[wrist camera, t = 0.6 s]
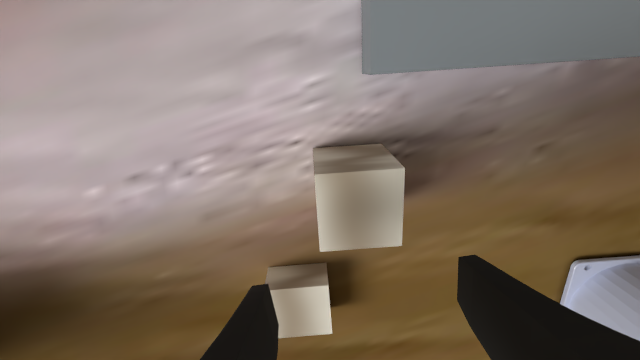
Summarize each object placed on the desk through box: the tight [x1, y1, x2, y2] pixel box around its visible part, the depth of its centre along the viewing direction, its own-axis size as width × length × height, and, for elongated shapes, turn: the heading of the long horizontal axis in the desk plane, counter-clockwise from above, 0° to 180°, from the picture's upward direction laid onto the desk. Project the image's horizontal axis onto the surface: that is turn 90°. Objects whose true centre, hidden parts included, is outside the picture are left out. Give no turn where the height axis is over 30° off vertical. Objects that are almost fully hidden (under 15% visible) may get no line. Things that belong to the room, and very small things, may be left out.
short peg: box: [265, 263, 332, 338], centre depth 22 cm, size 4×4×2 cm
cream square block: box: [313, 144, 405, 252], centre depth 17 cm, size 4×4×5 cm
